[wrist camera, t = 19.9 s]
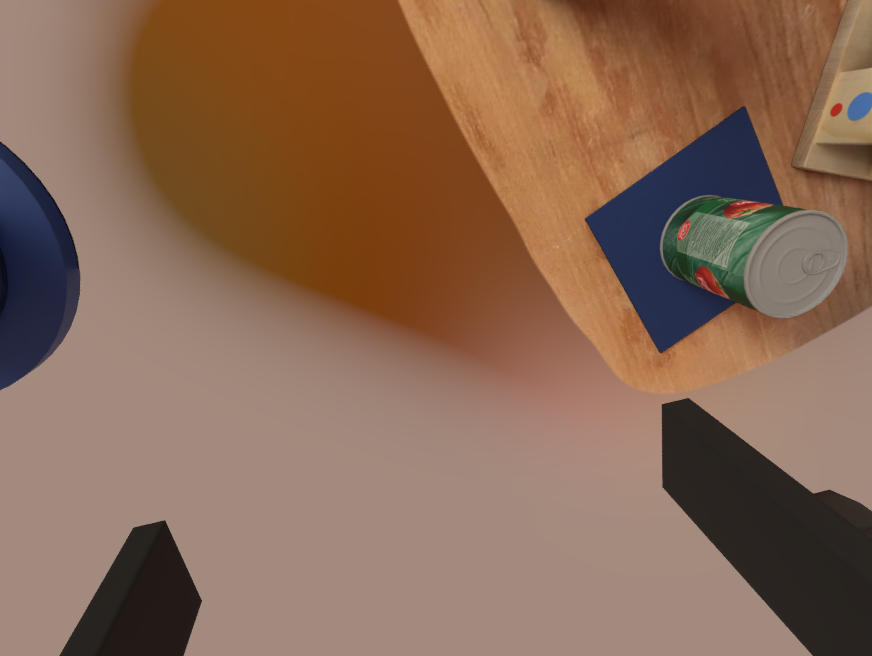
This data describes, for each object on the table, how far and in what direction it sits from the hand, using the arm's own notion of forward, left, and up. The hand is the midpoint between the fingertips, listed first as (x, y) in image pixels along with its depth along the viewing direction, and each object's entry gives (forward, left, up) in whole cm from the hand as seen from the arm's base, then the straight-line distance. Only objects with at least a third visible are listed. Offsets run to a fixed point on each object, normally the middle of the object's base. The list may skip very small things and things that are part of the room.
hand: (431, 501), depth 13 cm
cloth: (+26, +13, -32) cm, 43 cm away
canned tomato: (+26, +13, -32) cm, 43 cm away
